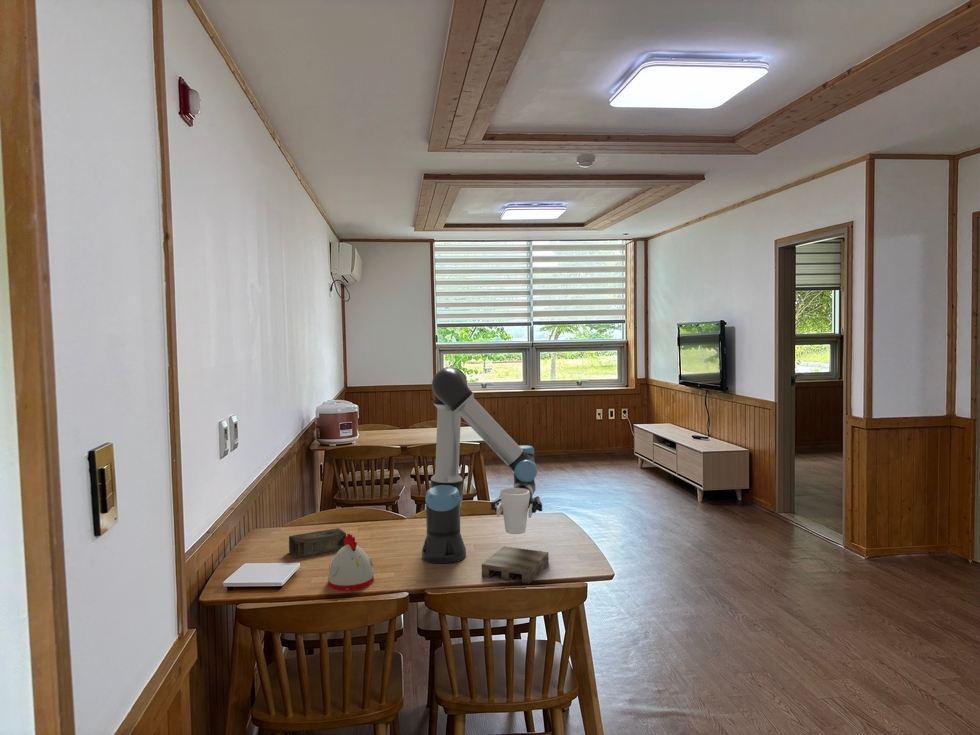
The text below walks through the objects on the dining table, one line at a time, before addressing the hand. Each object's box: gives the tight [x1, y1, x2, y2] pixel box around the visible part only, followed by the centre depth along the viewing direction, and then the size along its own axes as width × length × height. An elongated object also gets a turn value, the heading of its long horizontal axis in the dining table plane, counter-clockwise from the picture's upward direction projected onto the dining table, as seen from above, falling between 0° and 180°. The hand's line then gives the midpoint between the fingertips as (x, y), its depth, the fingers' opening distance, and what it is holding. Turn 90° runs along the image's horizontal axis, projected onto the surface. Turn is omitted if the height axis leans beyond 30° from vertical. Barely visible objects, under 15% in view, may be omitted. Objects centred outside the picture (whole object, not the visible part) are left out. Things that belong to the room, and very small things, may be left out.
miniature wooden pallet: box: [481, 546, 549, 585], centre depth 203 cm, size 18×16×4 cm
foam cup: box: [499, 487, 530, 535], centre depth 202 cm, size 10×9×13 cm
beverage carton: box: [288, 527, 347, 559], centre depth 226 cm, size 8×19×7 cm, turn 122°
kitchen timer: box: [327, 533, 375, 592], centre depth 195 cm, size 14×14×15 cm
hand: (513, 513), depth 198 cm, fingers closed on foam cup, 9 cm apart
